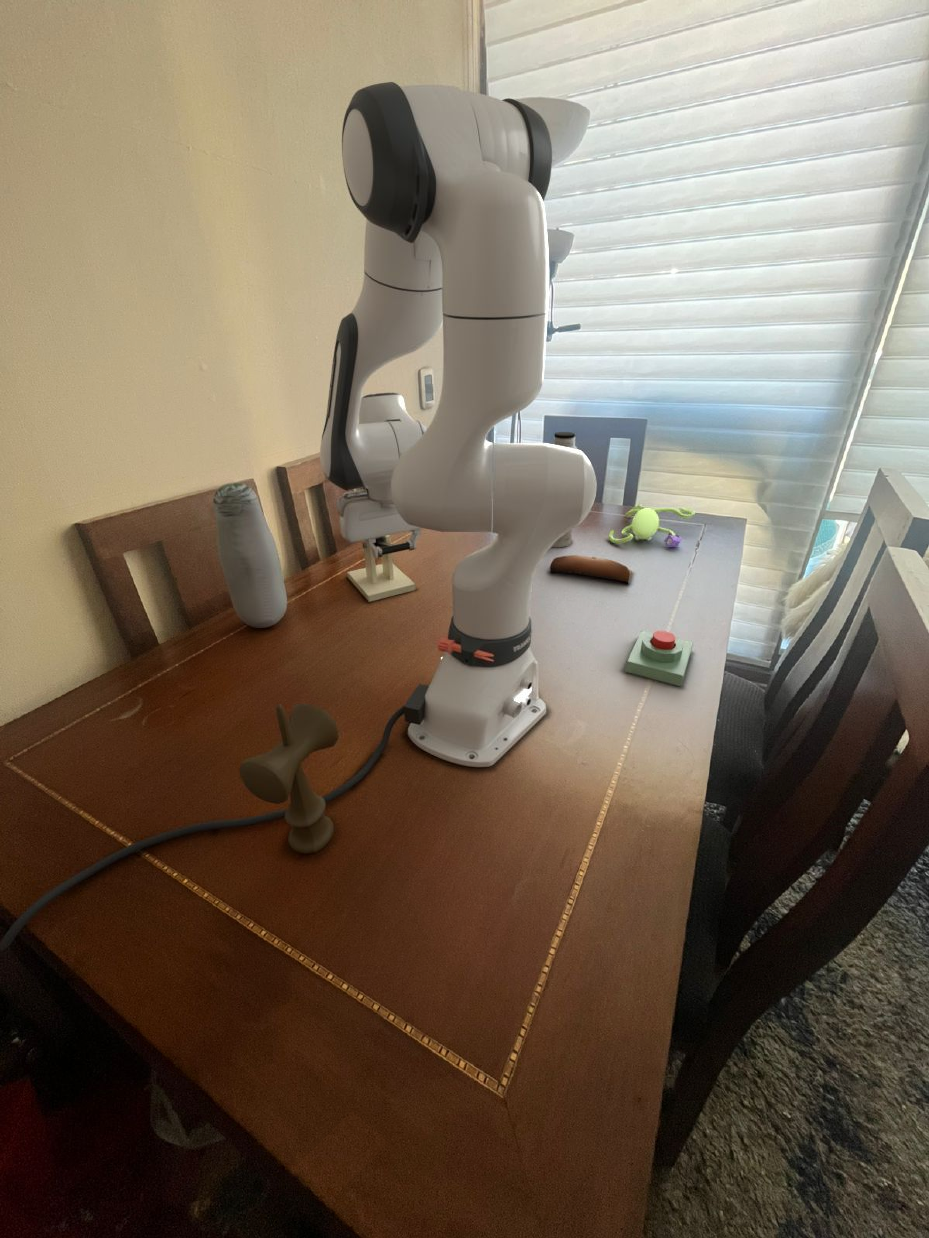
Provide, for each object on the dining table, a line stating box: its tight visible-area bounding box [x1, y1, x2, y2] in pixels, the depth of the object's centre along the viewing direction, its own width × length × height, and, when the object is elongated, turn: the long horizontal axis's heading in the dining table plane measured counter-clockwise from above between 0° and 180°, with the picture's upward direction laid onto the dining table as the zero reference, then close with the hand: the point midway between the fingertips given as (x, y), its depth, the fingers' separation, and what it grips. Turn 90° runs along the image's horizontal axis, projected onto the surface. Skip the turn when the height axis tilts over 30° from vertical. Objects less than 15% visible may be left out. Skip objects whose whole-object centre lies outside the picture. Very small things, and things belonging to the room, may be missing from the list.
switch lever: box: [373, 537, 410, 555], centre depth 108 cm, size 13×6×2 cm, turn 29°
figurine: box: [608, 504, 696, 548], centre depth 141 cm, size 18×27×6 cm
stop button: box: [651, 630, 677, 650], centre depth 87 cm, size 4×4×2 cm
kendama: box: [238, 702, 339, 855], centre depth 55 cm, size 6×10×20 cm, turn 160°
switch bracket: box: [347, 535, 416, 603], centre depth 115 cm, size 14×11×12 cm
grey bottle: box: [212, 482, 288, 629], centre depth 96 cm, size 10×10×28 cm
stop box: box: [624, 630, 694, 687], centre depth 89 cm, size 11×9×4 cm
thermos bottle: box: [550, 431, 578, 548], centre depth 131 cm, size 8×8×28 cm
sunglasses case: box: [549, 554, 632, 585], centre depth 120 cm, size 18×7×7 cm, turn 68°
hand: (395, 553), depth 104 cm, fingers closed on switch lever, 6 cm apart
